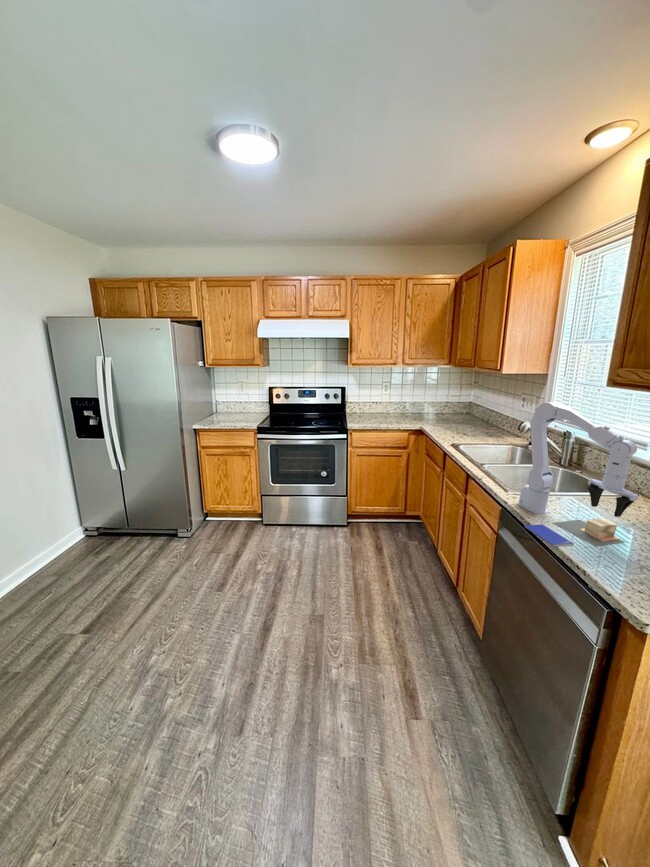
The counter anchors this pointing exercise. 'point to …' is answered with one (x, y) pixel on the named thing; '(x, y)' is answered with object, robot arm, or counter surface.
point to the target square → (604, 537)
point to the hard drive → (548, 535)
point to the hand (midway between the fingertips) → (605, 511)
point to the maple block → (600, 528)
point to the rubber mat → (575, 528)
